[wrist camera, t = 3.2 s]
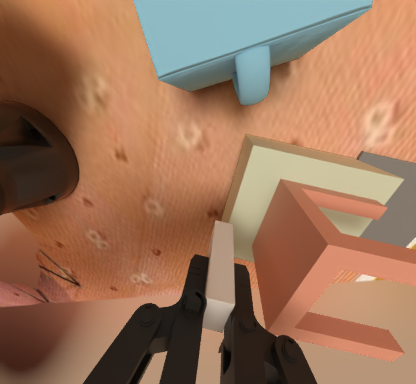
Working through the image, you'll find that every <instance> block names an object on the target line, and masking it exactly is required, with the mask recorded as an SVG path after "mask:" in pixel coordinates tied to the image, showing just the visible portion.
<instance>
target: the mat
mask: <svg viewBox="0 0 416 384" xmlns="http://www.w3.org/2000/svg"><path fill="white" fill-rule="evenodd" d="M357 160H359V161H362V162H364V163H366V164H369V165H371V166H374V167H376V168H379V169H381V170H383V171H386V172H388V173H391V174H393V175H395V176H398V177H400V178H403V179H404V181H403V182H402V183H401V184H400V186H399V187H398V188H397V189H396V191H395V192H394V193H393V195H392V196H391V197H390V198H389V200H388V201H387V202H386V203H385V205H384V206H386V207H388V208H387V210H386V211H385V212H384V213H383V215H382V216H381V217H380V218H379V220H375V219H373V220H372V221H371V223H370V224H369V225H368V226H367V228H366V229H365V230H364V231H363V233H362V234H361V235H360V236H359V237H361V238H365V239H370V240H374V241H378V242H383V243H387V244H392V245H396V246H400V247H406V246H407V245H408V244H409V243H410V242H411V241H412V240H413V239H414V238H415V237H416V163H412V162H407V161H403V160H398V159H394V158H389V157H385V156H381V155H376V154H372V153H367V152H363V151H362V152H361V153H360V155H359V157H358V158H357Z"/></svg>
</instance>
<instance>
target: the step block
mask: <svg viewBox="0 0 416 384" xmlns="http://www.w3.org/2000/svg"><path fill="white" fill-rule="evenodd" d="M280 179H285V180H289V181H293V182H298V183H302V184H307V185H311V186H315V187H320V188H324V189H329V190H333V191H338V192H342V193H346V194H351V195H355V196H360V197H364V198H368V199H373V200H377V201H378V202H380V203H381V204H383V205H385V203H386V202H387V201H388V200H389V198H390V197H391V196H392V195H393V193H394V192H395V191H396V189H397V188H398V187H399V186H400V184H401V183H402V182H403V181H404V179H403V178H400V177H398V176H395V175H393V174H391V173H388V172H386V171H383V170H381V169H379V168H376V167H374V166H371V165H369V164H366V163H364V162H362V161H359V160H357V159H354V158H351V157H346V156H342V155H337V154H333V153H329V152H324V151H320V150H315V149H311V148H306V147H302V146H298V145H293V144H289V143H284V142H280V141H275V140H271V139H266V138H262V137H258V136H253V135H249V134H246V136H245V139H244V143H243V146H242V150H241V153H240V157H239V160H238V164H237V167H236V171H235V174H234V178H233V181H232V184H231V188H230V191H229V195H228V198H227V202H226V205H225V209H224V212H223V216H222V219H221V222H225V223H229V224H233V245H234V258H238V259H242V260H247V261H251V262H254V256H253V250H252V244H253V242H254V240H255V237H256V235H257V233H258V230H259V228H260V226H261V223H262V221H263V219H264V216H265V214H266V211H267V209H268V207H269V204H270V202H271V200H272V197H273V195H274V193H275V190H276V188H277V186H278V183H279V181H280ZM317 207H318V206H317ZM318 208H319V209H320V210H321V211H322V212H323V213H324V214H325V216H326V217H327V218H328V219H329V220H330V221H331V222H332V223H333V224H334V226H335V227H336V228H337V229H338V230H339V231H340V232H341V233H343V234H348V235H352V236H356V237H359V236H360V235H361V234H362V233H363V231H364V230H365V229H366V228H367V226H368V225H369V224H370V223H371V221H372V220H373V219H371V218H366V217H362V216H357V215H353V214H349V213H344V212H340V211H335V210H331V209H327V208H322V207H318Z"/></svg>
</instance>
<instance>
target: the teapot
mask: <svg viewBox="0 0 416 384" xmlns="http://www.w3.org/2000/svg"><path fill="white" fill-rule="evenodd" d="M133 1H134V4H135V7H136V10H137V13H138V17H139V20H140V23H141V26H142V29H143V32H144V36H145V39H146V42H147V45H148V48H149V51H150V55H151V58H152V61H153V64H154V67H155V70H156V74H157V77H158V80H160V81H163V82H165V83H168V84H171V85H173V86H176V87H178V88H181V89H184V90H186V91H189V92H192V91H195V90H199V89H202V88H205V87H208V86H212V85H215V84H218V83H221V82H224V81H228V80H231V79H233V84H234V89H235V92H236V93H237V96H238V100H239V102H240V103H241V104H242V105H254V104H257V103H259V102H261V101H262V100H264V99H265V98H266V96H267V94H268V92H269V85H270V67H273V66H276V65H280V64H283V63H286V62H289V61H293V60H296V59H298V58H300V57H301V56H303V55H304V54H305V53H307V52H308V51H310V50H311V49H313V48H314V47H316V46H317V45H319V44H320V43H322V42H323V41H324V40H326V39H327V38H329V37H330V36H332V35H333V34H335V33H336V32H338V31H339V30H341V29H342V28H343V27H345V26H346V25H348V24H349V23H351V22H352V21H354V20H355V19H357V18H358V17H359V16H361V15H362V14H364V13H365V12H367V11H368V10H370V9H371V8H372V2H373V0H133Z"/></svg>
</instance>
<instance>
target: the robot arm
mask: <svg viewBox="0 0 416 384" xmlns="http://www.w3.org/2000/svg"><path fill="white" fill-rule="evenodd" d="M77 181H78V165H77V161H76V158H75V155H74V152H73V150H72V148H71V146H70V145H69V143H68V141H67V140H66V138H65V137H64V136H63V134H62V133H61V132H60V131H59V129H58V128H57V127H56V126H55V125H54V124H53V123H52V122H51V121H49V120H48V119H47V118H46V117H45V116H43V115H42V114H40V113H39V112H37V111H36V110H34V109H32V108H30V107H28V106H26V105H23V104H21V103H17V102H13V101H0V215H3V214H6V213H10V212H15V211H20V210H25V209H30V208H34V207H39V206H44V205H48V204H52V203H54V202H57V201H58V200H60V199H62V198H64V197H66V196H67V195H69V194H70V193H71V192H72V191H73V190H74V188H75V187H76V185H77ZM250 287H251V285H250V277H249V272H248V270H247V268H246V266H245V265H240V264H236V263H234V245H233V224H229V223H225V222H221V221H217V220H215V224H214V227H213V231H212V235H211V238H210V242H209V247H208V253H207V257H205V256H200V255H196V254H195V256H194V257H193V258H192V259H191V262H190V266H189V270H188V274H187V278H186V282H185V285H184V289H183V293H182V296H181V298H180V300H179V301H178V302H177V303H176V304H174V305H172V306H169V307H162V308H159V307H158V306H156V304H152V303H147V304H144V305H142V306H140V307H139V308H138V309H137V310H136V311H135V312H134V314H133V315H132V317H131V318H130V319H129V321H128V322H127V323H126V325H125V326H124V328H123V329H122V330H121V332H120V333H119V335H118V336H117V337H116V339H115V340H114V342H113V343H112V344H111V345H110V347H109V348H108V350H107V351H106V352H105V354H104V355H103V357H102V358H101V359H100V361H99V362H98V364H97V365H96V366H95V368H94V369H93V370H92V372H91V373H90V374H89V376H88V377H87V379H86V380H85V381H84V383H83V384H139V383H140V380H141V379H142V377H143V374H144V373H145V370H146V369H147V367H148V365H149V363H150V361H151V359H152V357H153V355H154V354H155V353H160V352H165V351H167V355H166V359H165V363H164V367H163V371H162V375H161V379H160V383H159V384H195V382H196V374H197V367H198V359H199V350H200V342H201V334H202V328H205V329H209V330H213V331H217V332H221V333H222V332H223V330H224V339H223V341H222V343H221V345H220V347H219V353H221V376H220V384H317V382H316V380H315V378H314V375H313V373H312V371H311V369H310V367H309V365H308V363H307V360H306V358H305V356H304V354H303V352H302V350H301V348H300V347H299V345H298V344H297V343H296V341H295V340H294V339H292V338H291V337H289V336H287V335H280V336H278V337H276V336H275V335H273V334H272V333H270V332H269V331H267V330H266V329H264V328H263V327H262V326H261V325H260V324H259V323H258V322H257V320H256V318H255V316H254V311H253V302H252V294H251V288H250Z"/></svg>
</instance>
